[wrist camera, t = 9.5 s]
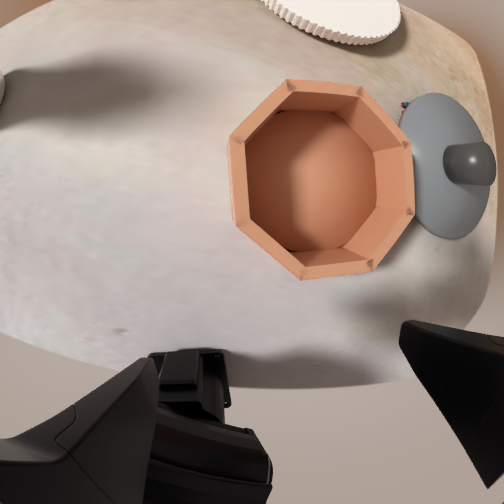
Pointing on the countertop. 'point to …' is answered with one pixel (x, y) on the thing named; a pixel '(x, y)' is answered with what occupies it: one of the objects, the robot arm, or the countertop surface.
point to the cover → (447, 165)
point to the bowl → (321, 179)
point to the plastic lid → (341, 18)
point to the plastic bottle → (2, 86)
